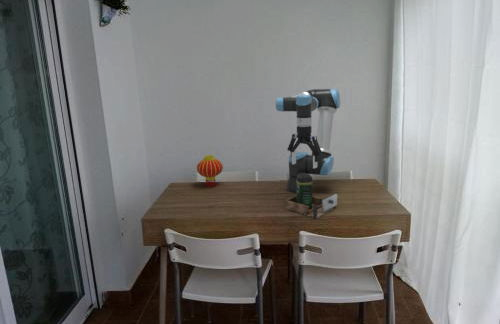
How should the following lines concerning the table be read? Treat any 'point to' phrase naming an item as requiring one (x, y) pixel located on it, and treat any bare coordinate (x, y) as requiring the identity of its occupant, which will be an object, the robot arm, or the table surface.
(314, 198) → the open wooden box
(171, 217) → the table surface
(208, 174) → the lantern
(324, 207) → the grey flat panel
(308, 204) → the coffee jar
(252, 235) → the table surface
